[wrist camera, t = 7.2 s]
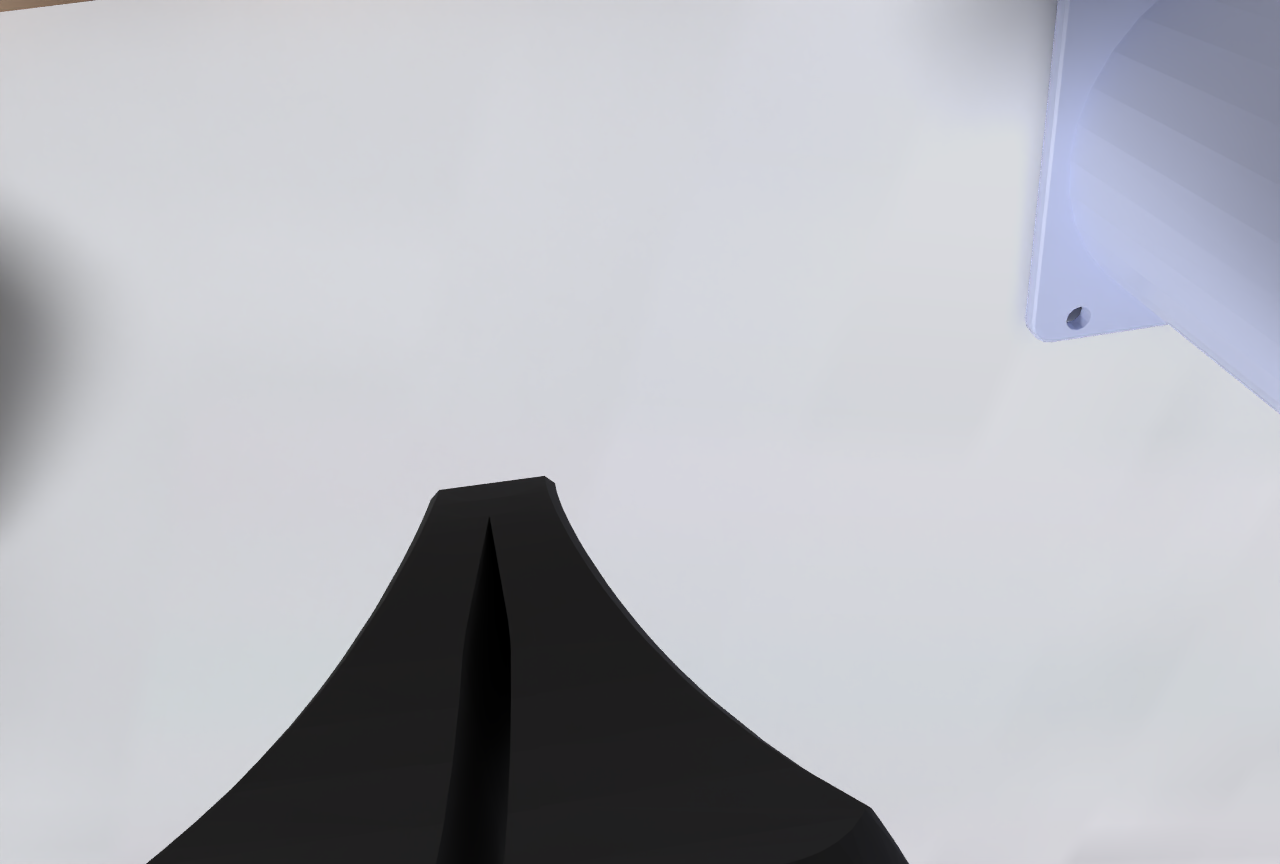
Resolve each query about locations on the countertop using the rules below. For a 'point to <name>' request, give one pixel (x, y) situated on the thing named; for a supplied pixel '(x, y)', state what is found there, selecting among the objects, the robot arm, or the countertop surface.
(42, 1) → the rail board
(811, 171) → the countertop surface
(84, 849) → the countertop surface
